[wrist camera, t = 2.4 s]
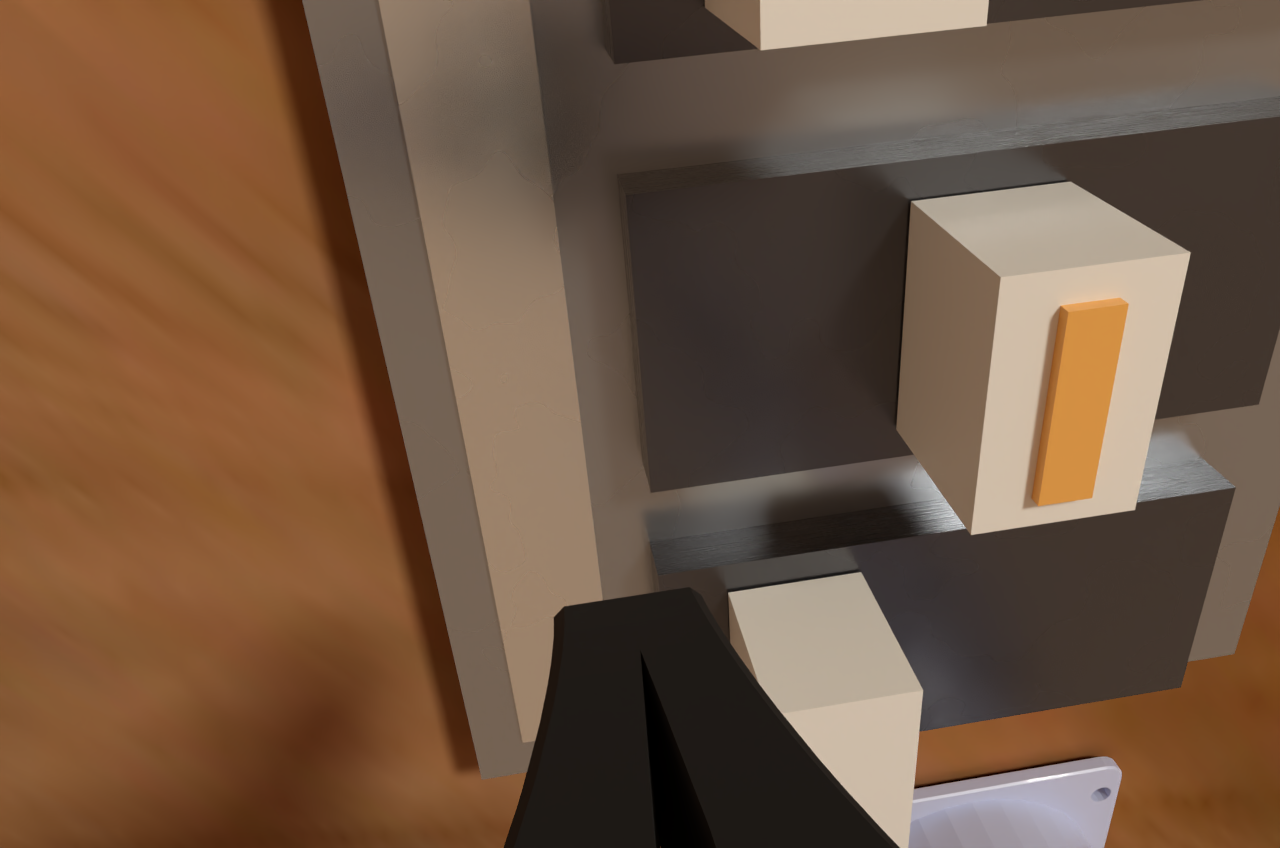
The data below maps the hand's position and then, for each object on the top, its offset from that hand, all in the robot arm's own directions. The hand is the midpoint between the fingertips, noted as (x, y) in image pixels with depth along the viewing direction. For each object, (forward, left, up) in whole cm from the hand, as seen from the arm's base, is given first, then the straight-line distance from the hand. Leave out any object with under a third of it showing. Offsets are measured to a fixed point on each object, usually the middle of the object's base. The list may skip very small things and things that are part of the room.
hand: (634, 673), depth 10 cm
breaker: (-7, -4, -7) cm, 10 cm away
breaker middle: (0, -7, -7) cm, 9 cm away
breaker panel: (0, -6, -9) cm, 11 cm away
